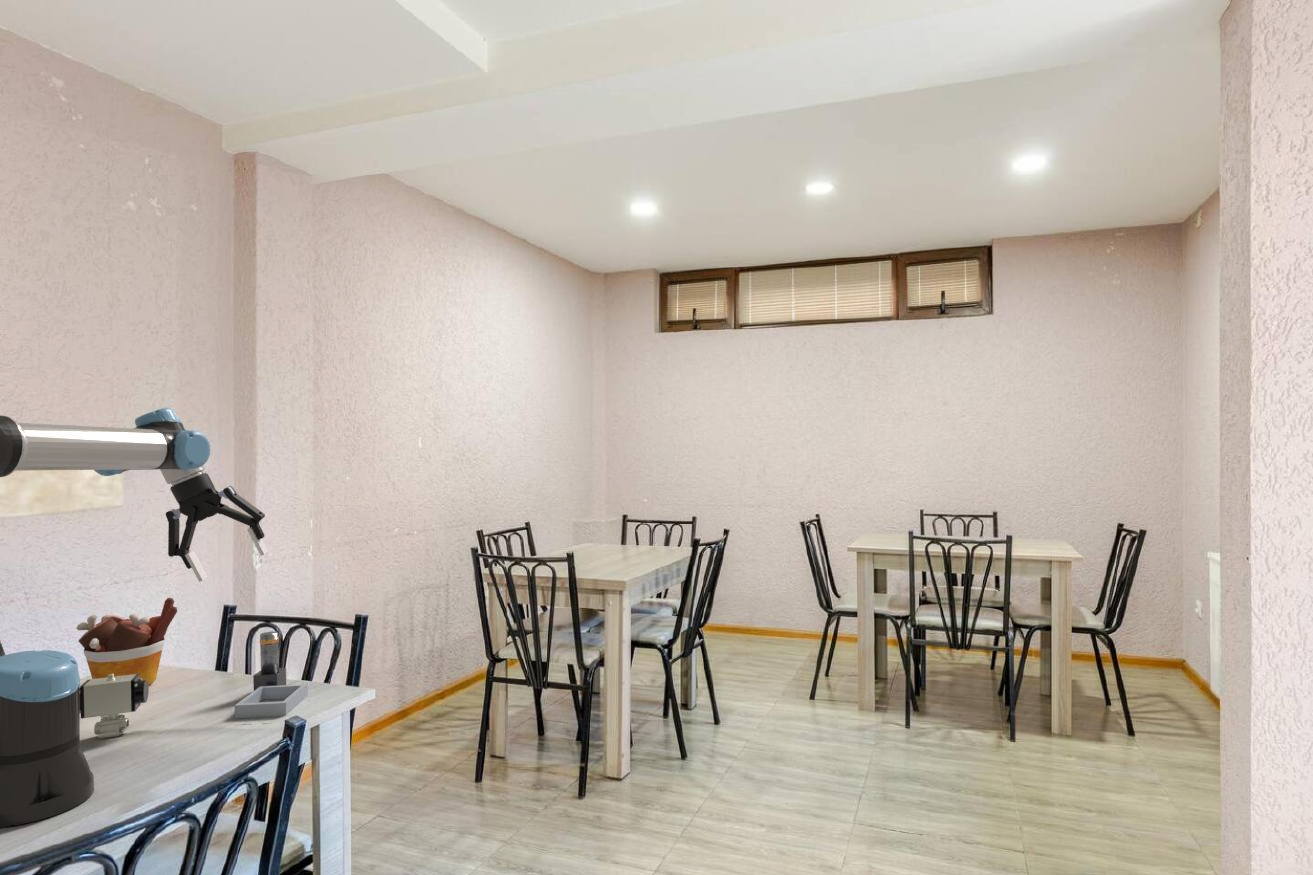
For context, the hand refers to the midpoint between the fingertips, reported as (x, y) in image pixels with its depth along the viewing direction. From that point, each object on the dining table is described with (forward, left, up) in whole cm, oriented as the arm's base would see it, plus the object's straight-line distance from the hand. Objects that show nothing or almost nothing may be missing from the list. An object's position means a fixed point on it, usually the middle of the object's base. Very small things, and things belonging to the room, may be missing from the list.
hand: (234, 566), depth 167 cm
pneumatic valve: (-14, +17, -30) cm, 38 cm away
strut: (+3, -6, -29) cm, 29 cm away
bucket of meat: (+18, +32, -30) cm, 48 cm away
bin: (-7, -10, -30) cm, 33 cm away
